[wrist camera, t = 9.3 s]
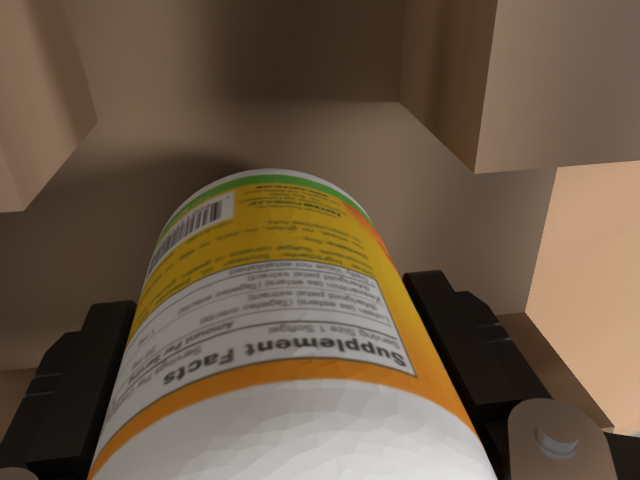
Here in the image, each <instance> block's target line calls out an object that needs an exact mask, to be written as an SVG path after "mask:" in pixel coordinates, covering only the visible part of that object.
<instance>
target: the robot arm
mask: <svg viewBox="0 0 640 480" xmlns="http://www.w3.org/2000/svg"><path fill="white" fill-rule="evenodd" d="M402 282H403V284H404V286H405V288H406V290H407V292H408V294H409V296H410V298H411V300H412V302H413V305H414V307H415V309H416V311H417V313H418V314H419V316H420V318H421V320H422V322H423V324H424V327H425V329H426V331H427V333H428V335H429V337H430V339H431V341H432V343H433V345H434V347H435V349H436V351H437V353H438V355H439V357H440V359H441V361H442V363H443V365H444V367H445V369H446V371H447V374H448V376H449V378H450V380H451V382H452V384H453V386H454V388H455V390H456V392H457V394H458V396H459V398H460V400H461V402H462V404H463V406H464V408H465V410H466V412H467V414H468V416H469V418H470V420H471V423H472V425H473V427H474V429H475V431H476V433H477V435H478V437H479V439H480V441H481V443H482V445H483V447H484V450H485V452H486V455H487V457H488V459H489V462H490V464H491V466H492V468H493V470H494V473H495V475H496V477H497V479H498V480H640V438H639V437H632V436H625V435H619V434H613V433H608V432H604V431H602V430H601V429H600V427H599V426H598V425H597V424H596V423H595V422H594V421H593V420H592V419H591V418H590V417H589V416H587V415H586V414H585V413H584V412H582V411H580V410H579V409H577V408H575V407H573V406H571V405H569V404H566V403H564V402H561V401H557V400H554V399H553V398H552V397H551V395H550V394H549V392H548V391H547V389H546V388H545V386H544V385H543V384H542V382H541V381H540V379H539V378H538V376H537V375H536V373H535V372H534V371H533V369H532V368H531V366H530V365H529V363H528V362H527V361H526V359H525V358H524V356H523V355H522V353H521V352H520V350H519V349H518V348H517V346H516V345H515V343H514V342H513V341H511V340H510V336H509V335H508V333H507V332H506V330H505V329H504V327H503V326H500V322H499V320H498V319H497V317H496V316H495V314H494V313H493V312H492V310H491V309H490V307H489V306H488V305H487V304H486V303H485V302H483V301H482V300H480V299H479V298H477V297H476V296H475V295H473V294H472V293H470V292H469V291H459V292H455V291H454V289H453V288H452V286H451V284H450V283H449V281H448V280H447V278H446V276H445V275H444V273H443V272H442V271H441V270H430V271H420V272H410V273H404V275H403V278H402ZM136 309H137V305H136V303H135V301H134V300H125V301H115V302H105V303H95V304H93V305H92V306H91V307H90V309H89V311H88V314H87V316H86V319H85V321H84V323H83V326H82V328H81V330H80V331H74V332H66V333H64V334H63V335H62V336H61V337H60V338H59V339H58V340H57V341H56V342H55V343H54V344H53V345H52V346H51V347H50V348H49V349H48V350H47V351H46V352H45V354H44V356H43V358H42V360H41V362H40V364H39V366H38V368H37V370H36V372H35V374H34V375H35V378H34V379H32V380H31V382H30V385H29V387H28V389H27V391H26V397H25V398H23V399H22V401H21V403H20V405H19V407H18V409H17V411H16V413H15V415H14V417H13V419H12V422H11V424H10V426H9V428H8V430H7V432H6V434H5V436H4V438H3V440H2V442H1V444H0V480H87V477H88V474H89V470H90V467H91V464H92V460H93V457H94V454H95V450H96V447H97V444H98V440H99V437H100V434H101V430H102V427H103V423H104V420H105V416H106V413H107V409H108V406H109V402H110V399H111V396H112V392H113V389H114V385H115V382H116V379H117V375H118V372H119V368H120V365H121V362H122V358H123V355H124V351H125V348H126V344H127V341H128V337H129V334H130V330H131V327H132V323H133V320H134V316H135V313H136Z"/></svg>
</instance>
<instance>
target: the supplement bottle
mask: <svg viewBox="0 0 640 480" xmlns="http://www.w3.org/2000/svg"><path fill="white" fill-rule="evenodd" d="M87 480H498V479H497V477H496V475H495V473H494V470H493V468H492V466H491V464H490V462H489V459H488V457H487V455H486V452H485V450H484V447H483V445H482V443H481V441H480V439H479V437H478V435H477V433H476V431H475V429H474V427H473V425H472V423H471V420H470V418H469V416H468V414H467V412H466V410H465V408H464V406H463V404H462V402H461V400H460V398H459V396H458V394H457V392H456V390H455V388H454V386H453V384H452V382H451V380H450V378H449V376H448V374H447V371H446V369H445V367H444V365H443V363H442V361H441V359H440V357H439V355H438V353H437V351H436V349H435V347H434V345H433V343H432V341H431V339H430V337H429V335H428V333H427V331H426V329H425V327H424V324H423V322H422V320H421V318H420V316H419V314H418V313H417V311H416V309H415V307H414V305H413V302H412V300H411V298H410V296H409V294H408V292H407V290H406V288H405V286H404V284H403V282H402V280H401V278H400V276H399V274H398V272H397V269H396V267H395V265H394V263H393V261H392V259H391V257H390V255H389V253H388V251H387V249H386V247H385V245H384V243H383V241H382V239H381V237H380V235H379V233H378V231H377V230H376V228H375V226H374V225H373V223H372V221H371V220H370V218H369V217H368V215H367V214H366V212H365V211H364V209H363V208H362V207H361V206H360V205H359V204H358V203H357V202H356V201H355V200H354V199H353V198H352V197H351V196H349V195H348V194H347V193H346V192H344V191H343V190H342V189H340V188H339V187H337V186H335V185H334V184H332V183H330V182H328V181H326V180H324V179H321V178H319V177H316V176H313V175H310V174H307V173H303V172H299V171H294V170H287V169H276V168H266V169H254V170H248V171H243V172H239V173H236V174H232V175H229V176H227V177H224V178H222V179H219V180H217V181H215V182H213V183H211V184H209V185H207V186H205V187H203V188H202V189H200V190H199V191H197V192H196V193H194V194H193V195H192V196H191V197H189V198H188V199H187V200H186V201H185V202H184V203H183V204H182V205H180V206H179V208H178V209H177V210H176V211H175V212H174V213H173V215H172V216H171V218H170V219H169V220H168V222H167V224H166V225H165V227H164V228H163V230H162V232H161V234H160V236H159V239H158V241H157V244H156V246H155V249H154V252H153V255H152V258H151V261H150V264H149V267H148V271H147V274H146V278H145V281H144V284H143V288H142V291H141V295H140V298H139V302H138V306H137V309H136V313H135V316H134V320H133V323H132V327H131V330H130V334H129V337H128V341H127V344H126V348H125V351H124V355H123V358H122V362H121V365H120V368H119V372H118V375H117V379H116V382H115V385H114V389H113V392H112V396H111V399H110V402H109V406H108V409H107V413H106V416H105V420H104V423H103V427H102V430H101V434H100V437H99V440H98V444H97V447H96V450H95V454H94V457H93V460H92V464H91V467H90V470H89V474H88V477H87Z"/></svg>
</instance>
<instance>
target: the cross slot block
mask: <svg viewBox="0 0 640 480" xmlns="http://www.w3.org/2000/svg"><path fill="white" fill-rule="evenodd" d="M636 160H640V0H0V444H1V442H2V440H3V438H4V436H5V434H6V432H7V430H8V428H9V426H10V424H11V422H12V419H13V417H14V415H15V413H16V411H17V409H18V407H19V405H20V403H21V401H22V399H23V398H25V397H26V391H27V389H28V387H29V385H30V382H31V380H32V379H34V378H35V375H34V374H35V372H36V370H37V368H38V366H39V364H40V362H41V360H42V358H43V356H44V354H45V352H46V351H47V350H48V349H49V348H50V347H51V346H52V345H53V344H54V343H55V342H56V341H57V340H58V339H59V338H60V337H61V336H62V335H63V334H64V333H66V332H74V331H80V330H81V328H82V326H83V323H84V321H85V319H86V316H87V314H88V311H89V309H90V307H91V306H92V305H93V304H95V303H105V302H115V301H125V300H134V301H135V303H136V305H137V306H138V302H139V298H140V295H141V291H142V288H143V284H144V281H145V278H146V274H147V271H148V267H149V264H150V261H151V258H152V255H153V252H154V249H155V246H156V244H157V241H158V239H159V236H160V234H161V232H162V230H163V228H164V227H165V225H166V224H167V222H168V220H169V219H170V218H171V216H172V215H173V213H174V212H175V211H176V210H177V209H178V208H179V206H180V205H182V204H183V203H184V202H185V201H186V200H187V199H188V198H189V197H191V196H192V195H193V194H194V193H196V192H197V191H199V190H200V189H202V188H203V187H205V186H207V185H209V184H211V183H213V182H215V181H217V180H219V179H222V178H224V177H227V176H229V175H232V174H236V173H239V172H243V171H248V170H254V169H266V168H276V169H287V170H294V171H299V172H303V173H307V174H310V175H313V176H316V177H319V178H321V179H324V180H326V181H328V182H330V183H332V184H334V185H335V186H337V187H339V188H340V189H342V190H343V191H344V192H346V193H347V194H348V195H349V196H351V197H352V198H353V199H354V200H355V201H356V202H357V203H358V204H359V205H360V206H361V207H362V208H363V209H364V211H365V212H366V214H367V215H368V217H369V218H370V220H371V221H372V223H373V225H374V226H375V228H376V230H377V231H378V233H379V235H380V237H381V239H382V241H383V243H384V245H385V247H386V249H387V251H388V253H389V255H390V257H391V259H392V261H393V263H394V265H395V267H396V269H397V272H398V274H399V276H400V278H401V280H402V278H403V275H404V273H410V272H420V271H430V270H441V271H442V272H443V273H444V275H445V276H446V278H447V280H448V281H449V283H450V284H451V286H452V288H453V289H454V291H455V292H459V291H469V292H470V293H472V294H473V295H475V296H476V297H477V298H479V299H480V300H482V301H483V302H485V303H486V304H487V305H488V306H489V307H490V309H491V310H492V312H493V313H494V314H495V316H496V317H497V319H498V320H499V322H500V326H503V327H504V329H505V330H506V332H507V333H508V335H509V336H510V340H511V341H513V342H514V343H515V345H516V346H517V348H518V349H519V350H520V352H521V353H522V355H523V356H524V358H525V359H526V361H527V362H528V363H529V365H530V366H531V368H532V369H533V371H534V372H535V373H536V375H537V376H538V378H539V379H540V381H541V382H542V384H543V385H544V386H545V388H546V389H547V391H548V392H549V394H550V395H551V397H552V398H553V399H554V400H557V401H561V402H564V403H566V404H569V405H571V406H573V407H575V408H577V409H579V410H580V411H582V412H584V413H585V414H586V415H587V416H589V417H590V418H591V419H592V420H593V421H594V422H595V423H596V424H597V425H598V426H599V427H600V429H601V430H602V431H604V432H608V433H612V432H613V430H614V427H615V426H614V425H613V424H612V423H611V421H610V420H609V419H608V417H607V416H606V415H605V414H604V412H603V411H602V410H601V409H600V407H599V406H598V405H597V403H596V402H595V401H594V400H593V398H592V397H591V396H590V395H589V393H588V392H587V391H586V389H585V388H584V387H583V386H582V384H581V383H580V382H579V381H578V379H577V378H576V377H575V375H574V374H573V373H572V372H571V370H570V369H569V368H568V367H567V365H566V364H565V363H564V361H563V360H562V359H561V358H560V356H559V355H558V354H557V353H556V351H555V350H554V349H553V347H552V346H551V345H550V344H549V342H548V341H547V340H546V339H545V337H544V336H543V335H542V333H541V332H540V331H539V330H538V328H537V327H536V326H535V325H534V323H533V322H532V321H531V319H530V318H529V317H528V316H527V314H526V313H525V309H526V304H527V300H528V295H529V291H530V286H531V282H532V278H533V273H534V269H535V264H536V260H537V255H538V251H539V247H540V242H541V238H542V233H543V229H544V224H545V220H546V216H547V211H548V207H549V202H550V198H551V193H552V189H553V185H554V180H555V176H556V171H557V167H563V166H575V165H588V164H600V163H612V162H624V161H636Z"/></svg>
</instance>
